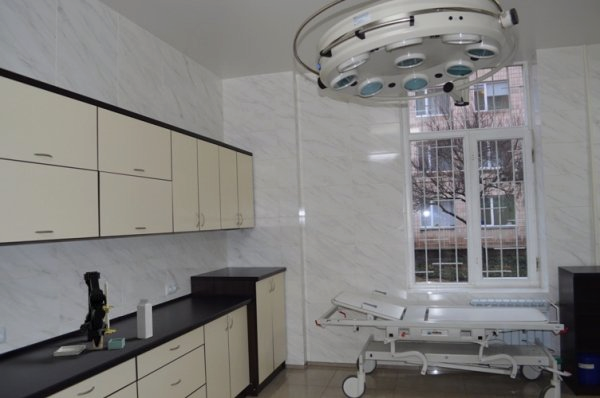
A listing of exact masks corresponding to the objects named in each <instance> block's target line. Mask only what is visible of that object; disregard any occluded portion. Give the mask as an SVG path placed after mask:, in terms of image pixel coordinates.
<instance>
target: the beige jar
mask: <svg viewBox="0 0 600 398" xmlns="http://www.w3.org/2000/svg"><path fill="white" fill-rule="evenodd" d="M103 347H104V337H103V336H102V337H101V340H100V343H99V346H98V347H96V346H95V343H94V340H93V341H92V350H101V349H102V348H103Z"/></svg>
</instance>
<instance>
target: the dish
mask: <svg viewBox="0 0 600 398" xmlns="http://www.w3.org/2000/svg"><path fill="white" fill-rule="evenodd" d="M84 350H86V344H81V345H80V344H77V345H66V346H65V345H64V346H60V347H59V348H58V349H57V350H55V351H54V352H53V357H61V356H62V357H63V356H75V355H80V354H81V353H82V352H83V351H84Z"/></svg>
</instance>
